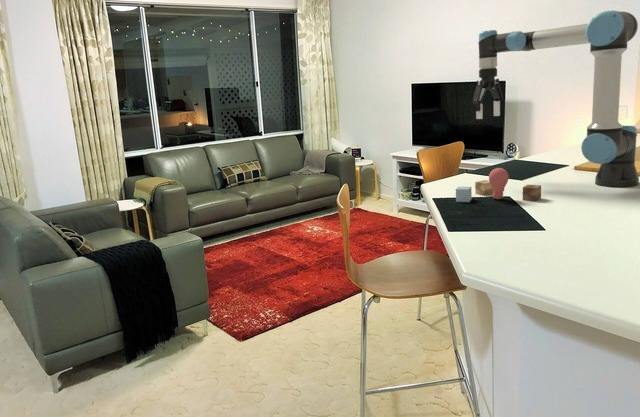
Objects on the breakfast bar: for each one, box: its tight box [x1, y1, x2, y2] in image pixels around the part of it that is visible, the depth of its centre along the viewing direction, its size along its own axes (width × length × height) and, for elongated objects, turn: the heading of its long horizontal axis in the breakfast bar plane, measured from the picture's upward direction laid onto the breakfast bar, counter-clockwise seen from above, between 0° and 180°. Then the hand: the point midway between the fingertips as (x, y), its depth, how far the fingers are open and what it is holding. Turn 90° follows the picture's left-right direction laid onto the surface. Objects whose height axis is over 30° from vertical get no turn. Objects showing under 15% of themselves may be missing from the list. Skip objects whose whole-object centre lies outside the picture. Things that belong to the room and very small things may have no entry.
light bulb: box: [488, 167, 510, 200], centre depth 193 cm, size 7×7×12 cm
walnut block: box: [522, 184, 542, 202], centre depth 190 cm, size 5×5×5 cm
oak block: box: [474, 179, 494, 196], centre depth 205 cm, size 5×5×5 cm
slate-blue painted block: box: [455, 186, 472, 203], centre depth 196 cm, size 5×5×5 cm
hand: (488, 117), depth 227 cm, fingers open, 13 cm apart
